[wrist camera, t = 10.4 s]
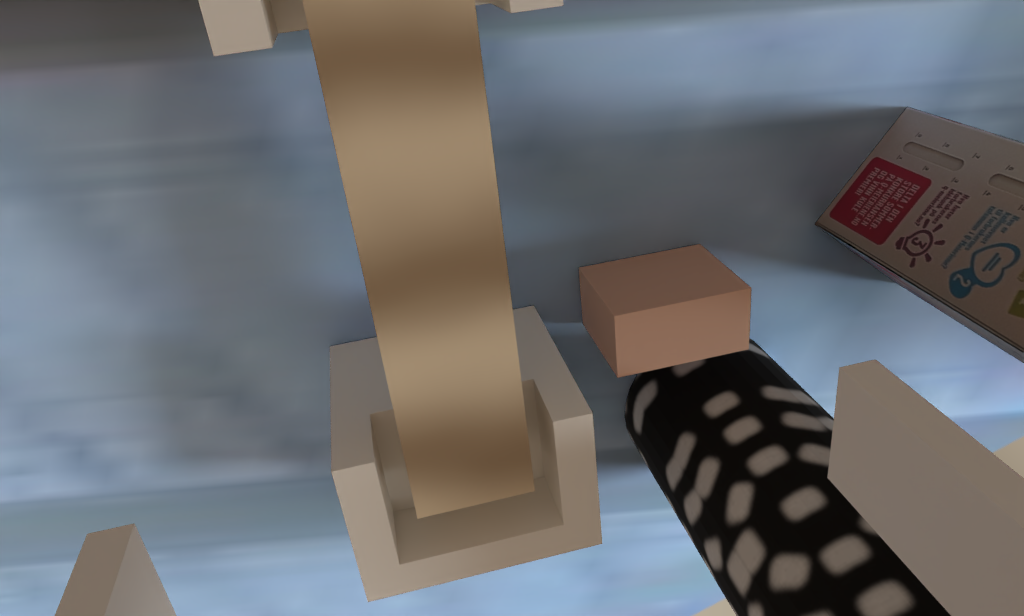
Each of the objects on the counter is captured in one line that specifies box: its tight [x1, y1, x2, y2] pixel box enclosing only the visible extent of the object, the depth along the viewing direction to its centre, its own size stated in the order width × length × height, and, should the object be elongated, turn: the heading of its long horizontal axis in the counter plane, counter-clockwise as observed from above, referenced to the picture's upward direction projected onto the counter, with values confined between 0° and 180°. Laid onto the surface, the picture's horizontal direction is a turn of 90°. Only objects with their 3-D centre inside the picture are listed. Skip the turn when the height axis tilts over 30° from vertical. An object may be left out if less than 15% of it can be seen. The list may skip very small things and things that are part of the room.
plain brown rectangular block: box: [579, 244, 751, 378], centre depth 30 cm, size 21×6×5 cm, turn 6°
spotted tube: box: [625, 338, 951, 616], centre depth 32 cm, size 8×8×20 cm
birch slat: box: [302, 0, 535, 519], centre depth 25 cm, size 20×4×3 cm, turn 6°
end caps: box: [198, 0, 602, 602], centre depth 28 cm, size 27×10×9 cm, turn 6°
